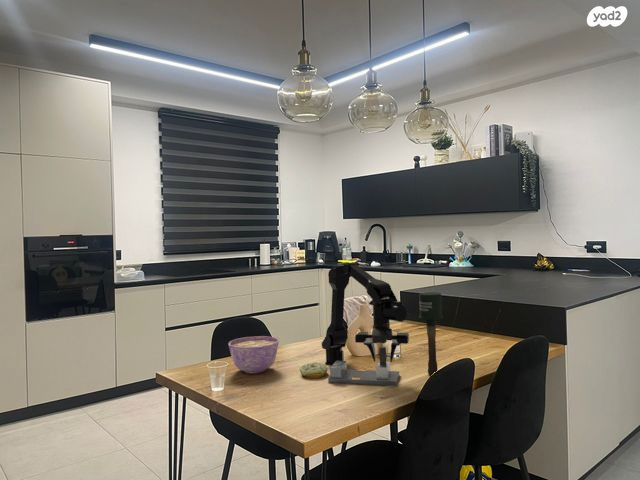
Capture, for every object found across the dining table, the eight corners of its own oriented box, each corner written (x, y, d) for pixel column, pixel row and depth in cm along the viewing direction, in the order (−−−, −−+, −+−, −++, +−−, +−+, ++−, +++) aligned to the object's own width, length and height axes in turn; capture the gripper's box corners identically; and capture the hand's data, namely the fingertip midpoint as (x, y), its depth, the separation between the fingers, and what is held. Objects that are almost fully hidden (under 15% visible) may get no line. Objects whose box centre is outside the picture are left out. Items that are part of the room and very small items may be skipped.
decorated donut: (300, 380, 174) (300, 370, 174) (299, 371, 185) (299, 362, 185) (328, 378, 175) (328, 368, 175) (326, 370, 186) (325, 360, 186)
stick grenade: (418, 372, 177) (415, 292, 177) (440, 371, 178) (437, 291, 178) (425, 379, 169) (421, 295, 168) (448, 377, 169) (445, 294, 169)
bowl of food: (219, 376, 183) (218, 346, 182) (245, 362, 201) (244, 335, 201) (266, 379, 176) (264, 348, 176) (288, 365, 195) (287, 337, 194)
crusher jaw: (376, 378, 167) (375, 350, 167) (379, 372, 174) (378, 344, 174) (387, 379, 166) (386, 350, 166) (390, 372, 173) (389, 345, 173)
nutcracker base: (328, 382, 169) (327, 368, 169) (336, 372, 181) (335, 359, 181) (395, 385, 163) (395, 371, 163) (399, 375, 174) (398, 361, 174)
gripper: (351, 322, 164) (353, 366, 165) (405, 322, 160) (407, 368, 160) (357, 316, 175) (358, 358, 175) (408, 316, 170) (410, 360, 170)
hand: (383, 361), depth 170 cm, fingers open, 6 cm apart
